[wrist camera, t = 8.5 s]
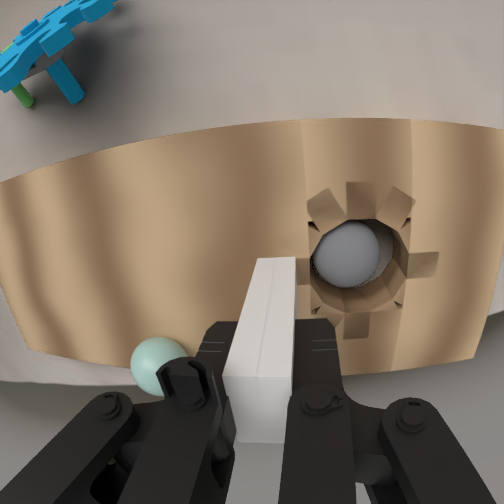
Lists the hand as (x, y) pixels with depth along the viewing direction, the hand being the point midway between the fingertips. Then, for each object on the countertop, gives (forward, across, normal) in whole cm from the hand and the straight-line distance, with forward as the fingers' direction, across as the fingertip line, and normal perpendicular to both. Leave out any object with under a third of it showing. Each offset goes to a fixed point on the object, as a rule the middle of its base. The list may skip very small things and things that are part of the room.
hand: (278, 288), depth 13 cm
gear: (+4, -11, +14) cm, 18 cm away
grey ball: (+2, +3, 0) cm, 4 cm away
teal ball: (0, -6, -4) cm, 8 cm away
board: (+4, -4, 0) cm, 6 cm away
